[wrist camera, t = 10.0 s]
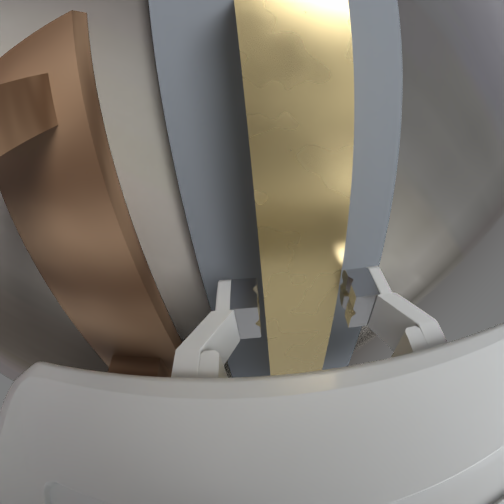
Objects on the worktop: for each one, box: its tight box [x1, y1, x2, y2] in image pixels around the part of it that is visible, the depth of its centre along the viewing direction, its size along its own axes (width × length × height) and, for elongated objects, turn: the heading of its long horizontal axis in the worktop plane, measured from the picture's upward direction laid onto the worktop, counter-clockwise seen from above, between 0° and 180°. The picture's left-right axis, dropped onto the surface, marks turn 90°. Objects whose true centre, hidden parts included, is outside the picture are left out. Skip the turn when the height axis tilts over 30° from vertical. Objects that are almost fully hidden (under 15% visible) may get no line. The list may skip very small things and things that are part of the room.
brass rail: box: [234, 0, 354, 376], centre depth 12 cm, size 22×3×2 cm, turn 5°
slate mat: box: [149, 0, 403, 378], centre depth 12 cm, size 26×9×1 cm, turn 5°
